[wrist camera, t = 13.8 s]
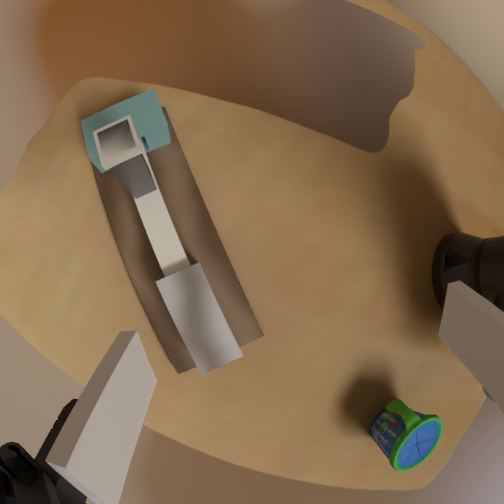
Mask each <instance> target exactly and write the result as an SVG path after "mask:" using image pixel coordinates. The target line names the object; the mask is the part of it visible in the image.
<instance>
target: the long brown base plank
mask: <svg viewBox="0 0 504 504" xmlns="http://www.w3.org/2000/svg"><path fill="white" fill-rule="evenodd" d="M161 109H162V111H163V114H164V116H165V119H166V121H167V124H168V129H169V134H170V140H171V143H169V144H167V145H164V146H162V147H159V148H157V149H154V150H152V151H150V152H147V153H146V154H147V157H148V159H149V162H150V165H151V168H152V170H153V173H154V176H155V178H156V181H157V184H158V186H159V189H160V192H161V194H162V197H163V199H164V202H165V204H166V207H167V209H168V212H169V214H170V217H171V219H172V222H173V224H174V227H175V229H176V232H177V234H178V236H179V239H180V241H181V243H182V246H183V248H184V251H185V253H186V255H187V257H188V260H189V262H190V264H191V266H189V267H187V268H185V269H183V270H180V271H178V272H176V273H174V274H172V275H169V276H167V277H165V276H164V274H163V271H162V269H161V267H160V264H159V262H158V260H157V257H156V255H155V252H154V250H153V247H152V245H151V242H150V240H149V237H148V235H147V232H146V230H145V227H144V225H143V222H142V219H141V217H140V214H139V211H138V208H137V206H136V203H135V200H134V197H133V195H132V194H131V193H130V191H129V190H128V189H127V188H126V187H125V185H124V184H123V183H122V182H121V181H120V179H119V178H118V177H117V176H116V175H115V173H114V172H113V171H112V170H111V169H110V170H108V171H106V172H104V173H101V172H100V170H99V169H98V168H97V167H96V166H95V165H94V164H93V163H92V165H93V169H94V172H95V176H96V179H97V183H98V186H99V190H100V193H101V196H102V200H103V203H104V206H105V209H106V212H107V215H108V218H109V221H110V224H111V227H112V230H113V233H114V236H115V238H116V241H117V244H118V246H119V249H120V252H121V254H122V257H123V259H124V262H125V265H126V267H127V270H128V272H129V274H130V277H131V279H132V282H133V284H134V286H135V289H136V291H137V293H138V295H139V298H140V300H141V302H142V304H143V307H144V309H145V311H146V313H147V315H148V317H149V319H150V321H151V323H152V326H153V328H154V330H155V332H156V334H157V336H158V338H159V340H160V342H161V344H162V345H163V347H164V349H165V351H166V353H167V355H168V357H169V359H170V361H171V362H172V364H173V366H174V368H175V370H176V371H177V373H178V374H180V373H182V372H185V371H187V370H189V369H192V368H194V367H198V369H199V371H200V373H201V375H202V374H204V373H206V372H209V371H211V370H213V369H215V368H218V367H220V366H222V365H224V364H227V363H229V362H231V361H233V360H235V359H238V358H240V357H242V356H243V354H242V352H241V350H240V348H239V347H241V346H243V345H246V344H248V343H250V342H252V341H254V340H256V339H258V338H260V337H262V336H264V335H263V332H262V330H261V328H260V326H259V324H258V322H257V320H256V317H255V315H254V313H253V311H252V309H251V307H250V304H249V302H248V300H247V298H246V296H245V293H244V291H243V289H242V287H241V285H240V282H239V280H238V278H237V276H236V274H235V271H234V269H233V267H232V265H231V262H230V260H229V258H228V256H227V253H226V251H225V249H224V247H223V244H222V242H221V240H220V237H219V235H218V233H217V231H216V228H215V226H214V224H213V221H212V219H211V217H210V215H209V212H208V210H207V208H206V205H205V203H204V201H203V198H202V196H201V194H200V191H199V189H198V186H197V184H196V182H195V179H194V177H193V175H192V172H191V170H190V167H189V165H188V163H187V160H186V158H185V155H184V153H183V151H182V148H181V146H180V143H179V141H178V138H177V136H176V134H175V131H174V129H173V126H172V124H171V121H170V119H169V116H168V114H167V111H166V109H165V107H163V108H161Z"/></svg>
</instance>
